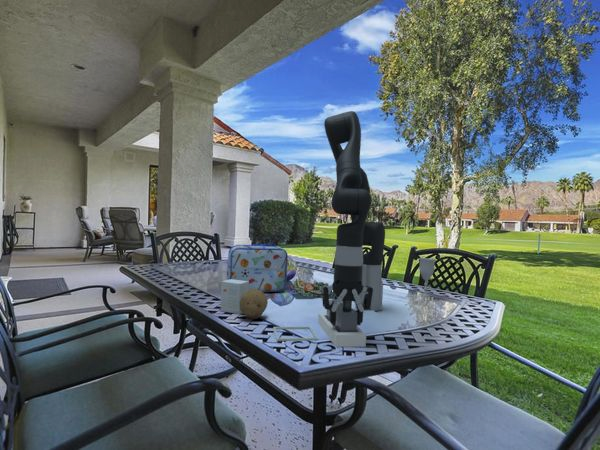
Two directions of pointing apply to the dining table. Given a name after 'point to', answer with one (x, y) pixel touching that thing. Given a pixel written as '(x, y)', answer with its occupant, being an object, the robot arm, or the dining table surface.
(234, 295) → the small box
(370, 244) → the robot arm
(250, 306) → the natural sponge
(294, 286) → the plated dish
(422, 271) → the chalice
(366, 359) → the dining table surface
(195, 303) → the dining table surface
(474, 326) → the dining table surface
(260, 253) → the lunch box
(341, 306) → the seated twin plug
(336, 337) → the cream socket block
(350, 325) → the plug
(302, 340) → the tray
